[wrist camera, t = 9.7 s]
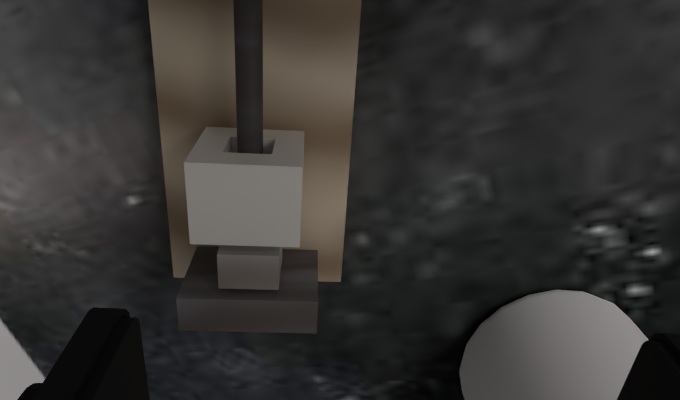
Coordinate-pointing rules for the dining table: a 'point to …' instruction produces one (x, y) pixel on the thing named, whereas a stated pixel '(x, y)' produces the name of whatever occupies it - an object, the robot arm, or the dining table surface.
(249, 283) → the small bench vise
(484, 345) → the can
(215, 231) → the sleeve
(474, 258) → the dining table surface
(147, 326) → the dining table surface
